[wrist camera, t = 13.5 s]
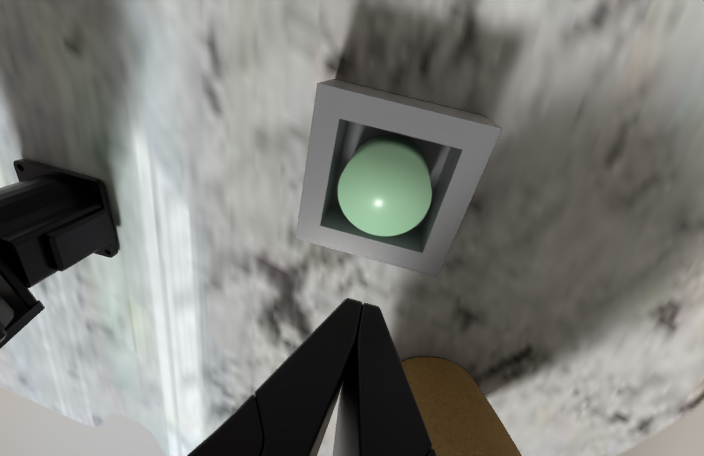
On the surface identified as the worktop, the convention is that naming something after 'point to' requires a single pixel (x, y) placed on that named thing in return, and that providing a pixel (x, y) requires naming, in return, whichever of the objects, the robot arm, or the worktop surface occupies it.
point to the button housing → (424, 131)
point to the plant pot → (456, 410)
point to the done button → (385, 186)
